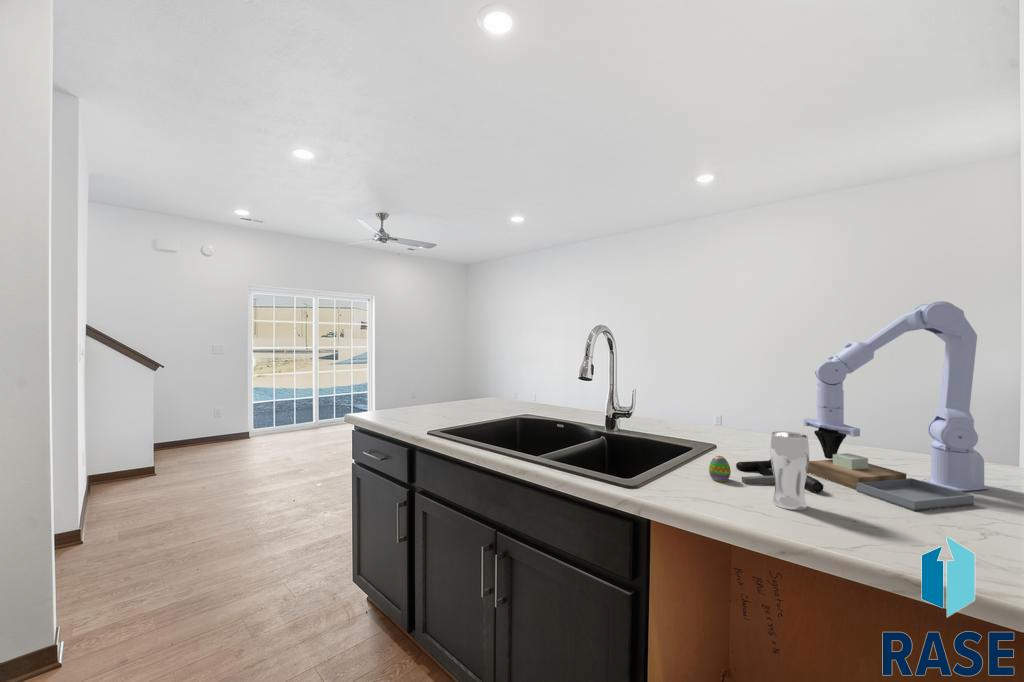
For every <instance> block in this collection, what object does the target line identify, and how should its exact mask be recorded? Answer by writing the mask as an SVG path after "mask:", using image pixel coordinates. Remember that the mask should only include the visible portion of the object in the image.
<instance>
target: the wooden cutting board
mask: <svg viewBox="0 0 1024 682" xmlns="http://www.w3.org/2000/svg"><path fill="white" fill-rule="evenodd" d="M809 473H811V474H814V475H817V476H819V477H818V478H820V477H822V478H821V479H823V478H825V479H824V480H826V479H828V480H827V481H829V480H831V481H830V482H832V481H833V482H832V483H835V482H836V484H838V483H839V484H838V485H841V484H842V485H841V486H844V487H847V488H849V489H852V488H853V490H855V489H856V491H857V483H860V482H871V481H883V480H894V479H906V478H907V473H906V472H901V471H898V470H895V469H891V468H887V467H884V466H879V465H876V464H872V463H869V462H868V468H866V469H853V470H851V469H848V468H845V467H841V466H838V465H834V464H833V459H823V460H822V459H821V460H820V459H819V460H809V467H808V473H807V474H809ZM811 474H810V475H811ZM814 475H813V476H814ZM817 476H816V477H817Z"/></svg>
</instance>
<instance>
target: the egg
mask: <svg viewBox="0 0 1024 682" xmlns="http://www.w3.org/2000/svg"><path fill="white" fill-rule="evenodd" d="M708 465H709V466H708V473H709V476H710V478H711V479H712V480H713V481H716V482H721V483H725V482H727V481H728V480H730V477H731V466H730V464H729V462H728V460H727V459H726V458H725V457H724V456H721V455H716V456H714V457H713V458H712V459H711V461H710V462H709V464H708Z"/></svg>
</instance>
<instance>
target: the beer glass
mask: <svg viewBox="0 0 1024 682" xmlns="http://www.w3.org/2000/svg"><path fill="white" fill-rule="evenodd" d="M809 446H810V445H809V436H808V434H807V435H806V434H804V433H800V432H795V431H783V430H781V431H776V430H775V431H772V432H771V439H770V448H769V449H770V450H769V452H770V459H771V465H772V470H773V475H774V481H775V484H774V493H773V496H772V497H773V499H772V503H773V505H775V506H776V507H779V508H781V509H784V510H788V509H789V511H797V512H798V511H800V512H801V511H805V510H806V509H807V508H808V506H807V501H806V495H805V489H806V488H805V482H806V477H807V475H808V474H809V473H808V467H809V461H810V447H809Z"/></svg>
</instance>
